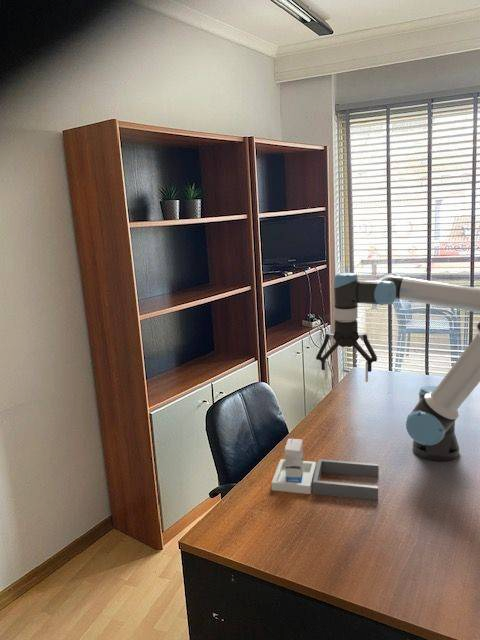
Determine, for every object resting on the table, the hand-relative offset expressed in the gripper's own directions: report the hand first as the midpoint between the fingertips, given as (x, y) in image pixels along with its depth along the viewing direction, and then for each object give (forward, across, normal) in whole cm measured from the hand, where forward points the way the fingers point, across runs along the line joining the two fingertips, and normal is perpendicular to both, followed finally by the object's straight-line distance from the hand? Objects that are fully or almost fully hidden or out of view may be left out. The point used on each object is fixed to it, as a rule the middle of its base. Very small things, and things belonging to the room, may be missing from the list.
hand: (346, 379), depth 175 cm
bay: (+27, -2, +22) cm, 35 cm away
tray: (+27, +15, +22) cm, 38 cm away
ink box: (+26, +15, +22) cm, 37 cm away
